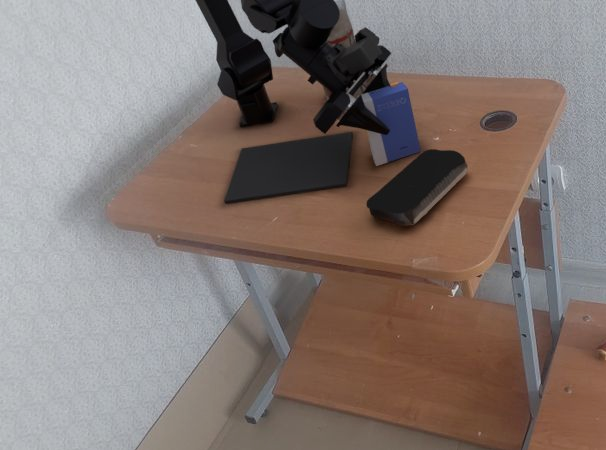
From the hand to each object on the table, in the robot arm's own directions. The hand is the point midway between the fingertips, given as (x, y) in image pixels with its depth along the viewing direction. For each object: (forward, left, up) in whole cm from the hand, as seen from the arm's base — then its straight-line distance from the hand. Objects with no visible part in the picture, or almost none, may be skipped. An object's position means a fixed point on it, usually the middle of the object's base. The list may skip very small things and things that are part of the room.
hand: (396, 122), depth 111 cm
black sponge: (+11, +3, -7) cm, 14 cm away
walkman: (-1, -1, -7) cm, 7 cm away
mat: (-2, -19, -7) cm, 20 cm away
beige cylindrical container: (-23, -11, -7) cm, 26 cm away
